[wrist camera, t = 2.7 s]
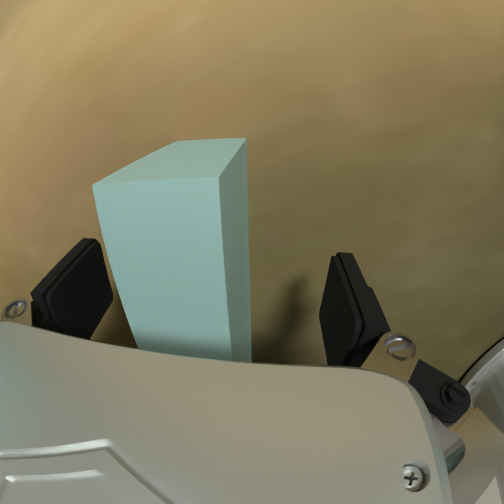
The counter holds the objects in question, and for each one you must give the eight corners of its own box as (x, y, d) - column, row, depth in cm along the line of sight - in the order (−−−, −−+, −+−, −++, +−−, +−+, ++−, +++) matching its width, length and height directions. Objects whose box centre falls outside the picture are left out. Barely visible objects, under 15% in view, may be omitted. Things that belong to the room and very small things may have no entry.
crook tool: (394, 146, 12) (487, 196, 6) (329, 415, 22) (335, 484, 16) (176, 141, 12) (91, 185, 6) (217, 412, 23) (205, 482, 17)
